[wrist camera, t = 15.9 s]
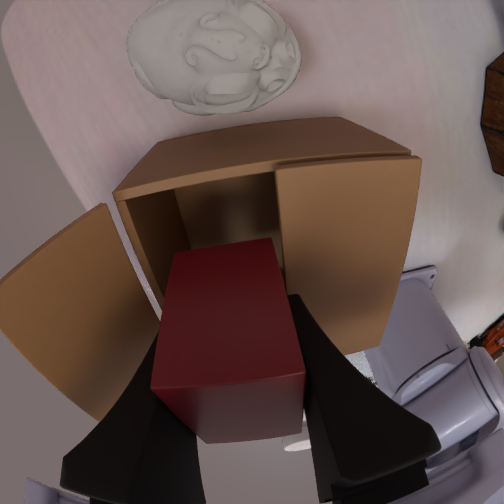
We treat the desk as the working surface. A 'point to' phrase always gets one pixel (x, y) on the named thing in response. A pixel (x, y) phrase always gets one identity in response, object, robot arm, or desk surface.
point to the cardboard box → (285, 212)
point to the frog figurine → (214, 54)
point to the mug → (495, 114)
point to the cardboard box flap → (80, 312)
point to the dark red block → (230, 345)
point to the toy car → (491, 338)
